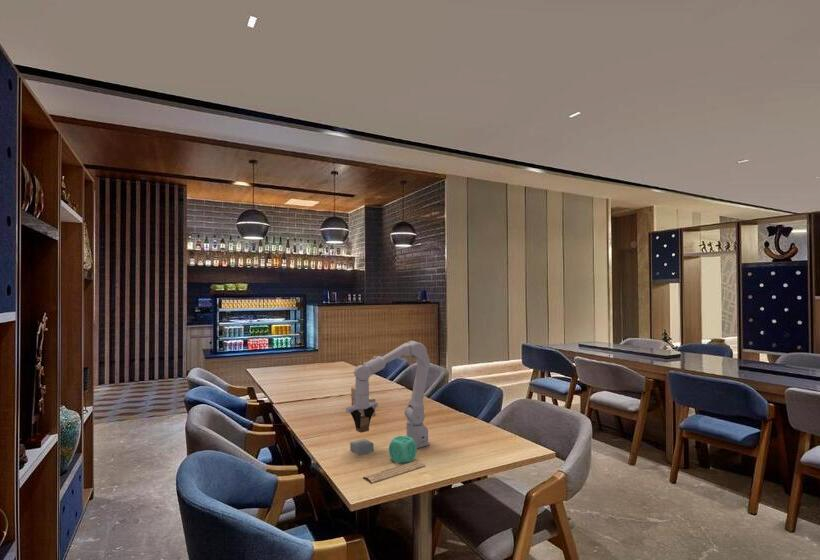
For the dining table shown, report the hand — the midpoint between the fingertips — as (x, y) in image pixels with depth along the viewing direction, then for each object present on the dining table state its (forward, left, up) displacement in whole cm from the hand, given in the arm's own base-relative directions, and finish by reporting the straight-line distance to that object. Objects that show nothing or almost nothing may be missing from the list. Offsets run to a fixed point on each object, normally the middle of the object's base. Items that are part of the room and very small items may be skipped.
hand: (362, 427), depth 178 cm
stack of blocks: (+51, -32, -10) cm, 61 cm away
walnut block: (0, 0, -1) cm, 1 cm away
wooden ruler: (-26, +3, -10) cm, 28 cm away
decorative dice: (-19, -7, -10) cm, 23 cm away
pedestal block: (0, 0, -10) cm, 10 cm away
